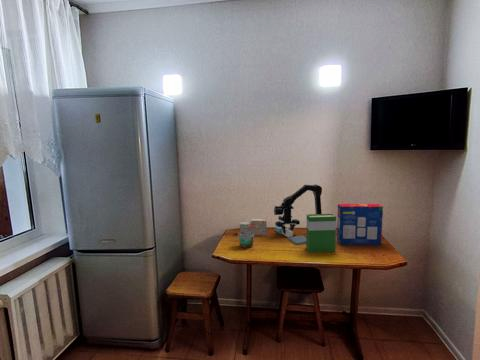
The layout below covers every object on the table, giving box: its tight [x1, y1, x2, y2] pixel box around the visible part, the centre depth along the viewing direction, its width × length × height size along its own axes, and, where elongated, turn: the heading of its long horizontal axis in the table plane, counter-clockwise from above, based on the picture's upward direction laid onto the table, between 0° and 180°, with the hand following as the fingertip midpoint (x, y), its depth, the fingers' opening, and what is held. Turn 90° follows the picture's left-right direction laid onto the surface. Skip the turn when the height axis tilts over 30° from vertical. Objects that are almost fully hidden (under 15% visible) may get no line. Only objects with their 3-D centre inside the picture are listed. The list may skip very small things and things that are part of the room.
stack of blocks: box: [239, 218, 268, 236], centre depth 218 cm, size 21×6×12 cm, turn 85°
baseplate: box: [287, 235, 306, 246], centre depth 201 cm, size 12×12×2 cm
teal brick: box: [274, 225, 282, 235], centre depth 222 cm, size 5×8×4 cm, turn 22°
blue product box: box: [336, 203, 384, 247], centre depth 193 cm, size 28×8×28 cm, turn 83°
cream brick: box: [281, 227, 294, 238], centre depth 212 cm, size 5×8×4 cm, turn 21°
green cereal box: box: [305, 213, 337, 253], centre depth 183 cm, size 18×7×24 cm, turn 90°
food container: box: [237, 231, 255, 250], centre depth 191 cm, size 12×6×10 cm, turn 68°
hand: (287, 233), depth 212 cm, fingers closed on cream brick, 5 cm apart
